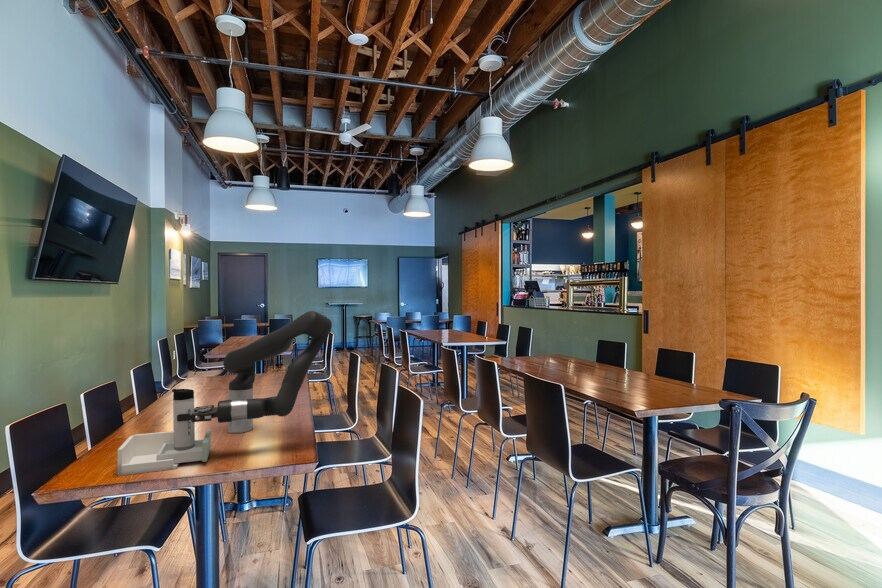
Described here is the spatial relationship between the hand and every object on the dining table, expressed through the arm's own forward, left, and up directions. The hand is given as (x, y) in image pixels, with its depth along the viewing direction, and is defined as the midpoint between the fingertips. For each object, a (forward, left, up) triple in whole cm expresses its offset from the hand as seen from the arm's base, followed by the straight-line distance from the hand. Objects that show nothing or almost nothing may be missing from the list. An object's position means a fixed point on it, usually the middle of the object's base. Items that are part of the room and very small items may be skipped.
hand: (178, 415), depth 157 cm
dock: (-8, 0, -15) cm, 17 cm away
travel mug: (+1, 0, -11) cm, 11 cm away
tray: (+2, 0, -14) cm, 14 cm away
